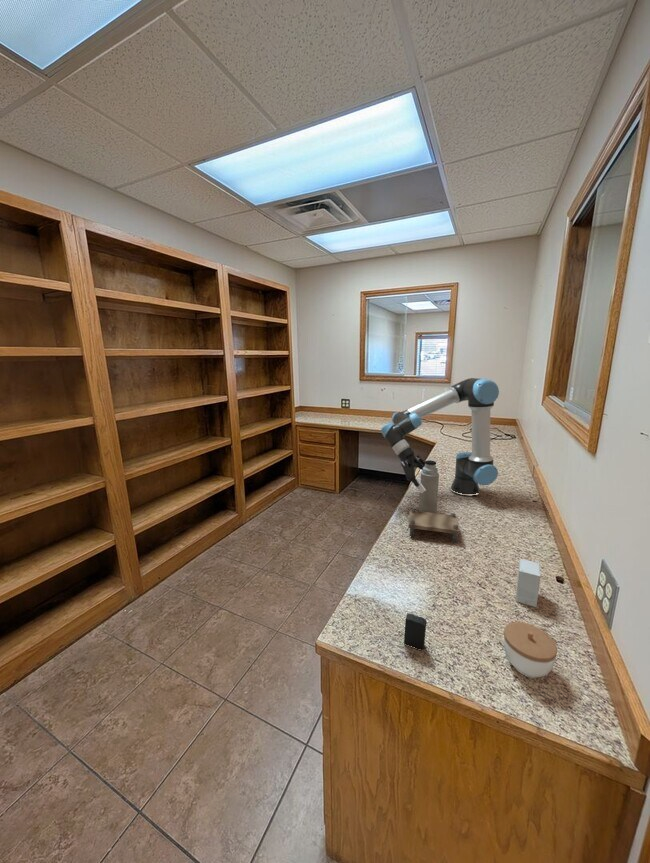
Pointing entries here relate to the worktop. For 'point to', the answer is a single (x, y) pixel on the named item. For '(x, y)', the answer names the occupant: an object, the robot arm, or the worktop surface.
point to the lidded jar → (529, 649)
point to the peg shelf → (434, 523)
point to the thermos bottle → (429, 488)
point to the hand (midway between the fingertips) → (430, 488)
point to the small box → (528, 582)
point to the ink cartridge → (415, 631)
